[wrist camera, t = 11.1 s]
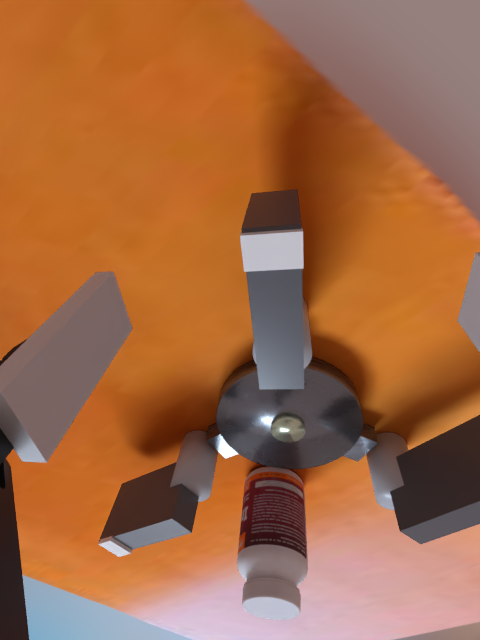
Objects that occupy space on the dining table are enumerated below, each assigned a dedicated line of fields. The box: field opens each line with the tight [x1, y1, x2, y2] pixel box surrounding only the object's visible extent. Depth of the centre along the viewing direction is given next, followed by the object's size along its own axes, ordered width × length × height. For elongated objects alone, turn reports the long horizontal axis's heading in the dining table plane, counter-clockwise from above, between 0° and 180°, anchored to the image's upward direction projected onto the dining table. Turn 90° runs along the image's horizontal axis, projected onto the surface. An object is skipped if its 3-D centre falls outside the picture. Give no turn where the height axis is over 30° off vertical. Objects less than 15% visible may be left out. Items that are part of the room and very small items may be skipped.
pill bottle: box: [237, 466, 308, 620], centre depth 33 cm, size 6×6×11 cm
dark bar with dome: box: [366, 415, 480, 544], centre depth 27 cm, size 11×4×8 cm, turn 141°
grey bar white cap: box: [240, 189, 312, 389], centre depth 20 cm, size 11×4×8 cm, turn 7°
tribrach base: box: [206, 357, 378, 469], centre depth 30 cm, size 14×15×3 cm
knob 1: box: [99, 430, 218, 557], centre depth 33 cm, size 11×4×8 cm, turn 127°
